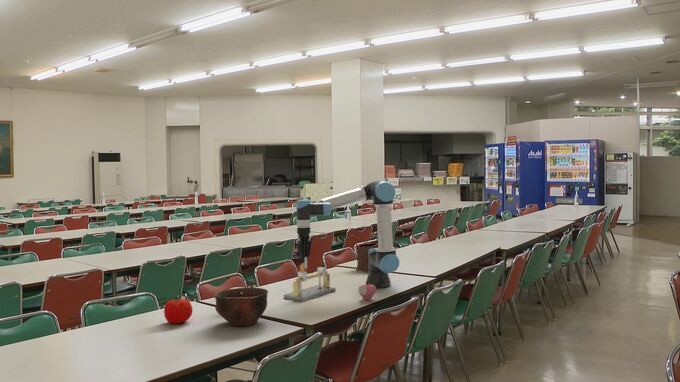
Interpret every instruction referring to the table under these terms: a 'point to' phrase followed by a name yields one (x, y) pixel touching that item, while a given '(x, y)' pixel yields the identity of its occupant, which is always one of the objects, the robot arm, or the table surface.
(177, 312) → the tomato
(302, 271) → the slider leg
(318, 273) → the grey and yellow frame
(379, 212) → the robot arm
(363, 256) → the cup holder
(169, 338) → the table surface
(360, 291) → the apple
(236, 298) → the bowl
